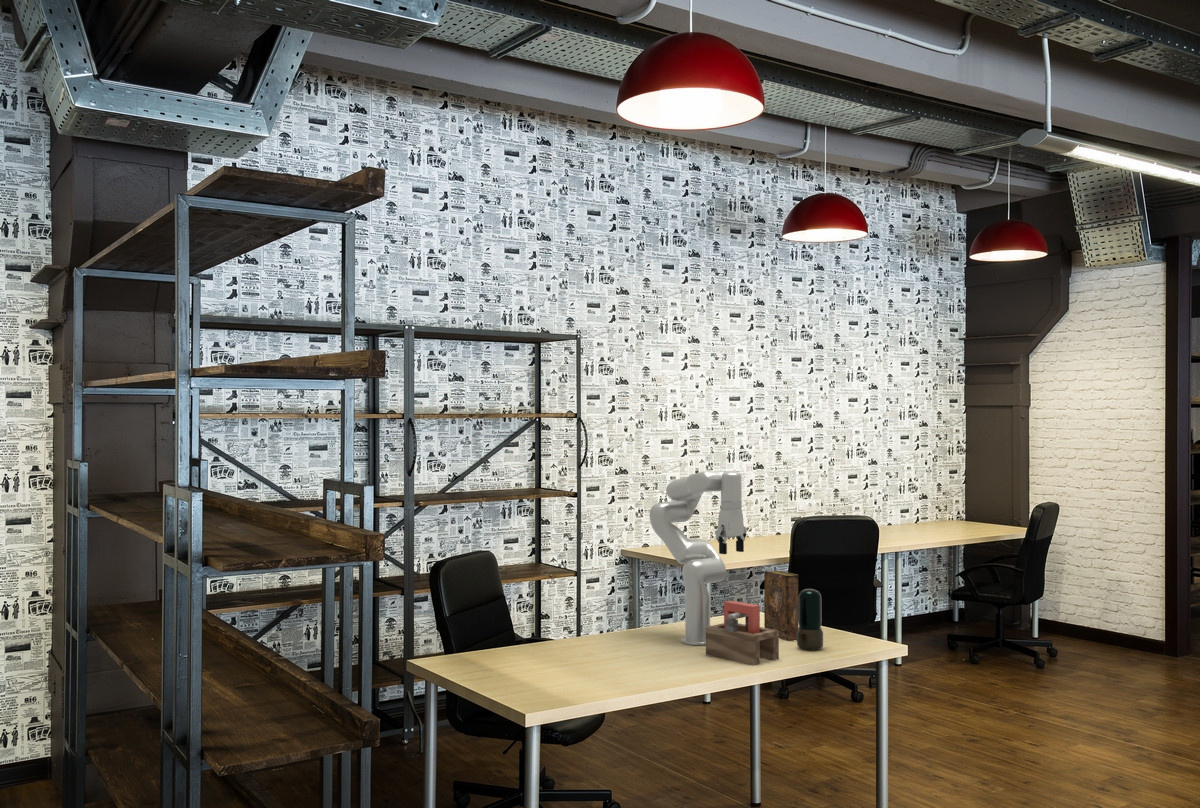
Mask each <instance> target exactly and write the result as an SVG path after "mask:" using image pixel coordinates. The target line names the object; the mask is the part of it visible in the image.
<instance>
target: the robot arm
mask: <svg viewBox="0 0 1200 808" xmlns="http://www.w3.org/2000/svg"><path fill="white" fill-rule="evenodd" d="M706 492H707V493H708V492H720V510H719V513H718V520H717V529H716V530H715V531H714V534H715V539H716V540H717V542H718V552H717V551H716V550H715V549H714V547H713V545H712V544H711V543H710V542H709V541H707V540H705V539H702V538H694V539H692V538H688V537H687V536H686V535H685V533H684V532H683V530H682V529H680V528H679V527H678V526H676V525H675V524H674V523H686V522H687V521H689V520H690V519H691V518H692V517H693V515H694V512H695V511H696V508H697V506H698V505H699V502H700V500H701V497H702V494H703V493H706ZM665 494H666V495H667V497H668V498H669V499H671V501H663V502H662V501H661V502H657V503H655V504H653V505H652V506H651V507H650V509H649V514H648V515H649V522H650V525H651V528H652V529H653V531H654V533H655V534H656V535H657V536H658V538H660V539H661V541H662V542H663V543H664V544H665V546H666V547H667V549H668V550H669V552H670V553H671V555H672V556H673V558H674V560H675V561H676V562H677V563H678V564H681V565H683V566H682V571H681V573H682V579H683V584H684V599H685V600H684V603H685V604H684V610H685V611H684V612H685V613H684V614H685V615H684V618H685V619H684V621H685V623H684V625H685V626H684V628H685V629H684V630H685V631H684V633H685V634H684V635H685V636H684V637H682V638H681V639H680V641H681V643H682V644H685V645H689V646H690V645H691V646H706V627H708V626H711V595H710V592H709V590H708V589H707V587H706V585H707V584H714V583H716V584H717V583H720V582H722V581H724V579H725V578H726V577H727V568H726V565H725V563H724V561H723V559H722V558H721V557H720V555H727V554H728V543H726V542H727V540H728V538H729V539H730V538H735V539H736V540H735V552H738V553H743V552H744V551H745V550H744V549H745V548H744V547H745V543H744V542H745V540H746V536H747V532H748V528H747V527H746V526H744V515H743V509H742V507H743V506H742V500H743V499H742V474H741V473H740V472H732V471H726V470H714V471H713V470H711V471H710V470H708V471H700V472H695V473H691V474H689V475H688V476H686V477H685V476H684V477H682V478H677V479H674V480H672V481H670V482H669V483H668V484H667V486H666V488H665ZM718 553H719V554H720V555H719V554H718Z"/></svg>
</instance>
